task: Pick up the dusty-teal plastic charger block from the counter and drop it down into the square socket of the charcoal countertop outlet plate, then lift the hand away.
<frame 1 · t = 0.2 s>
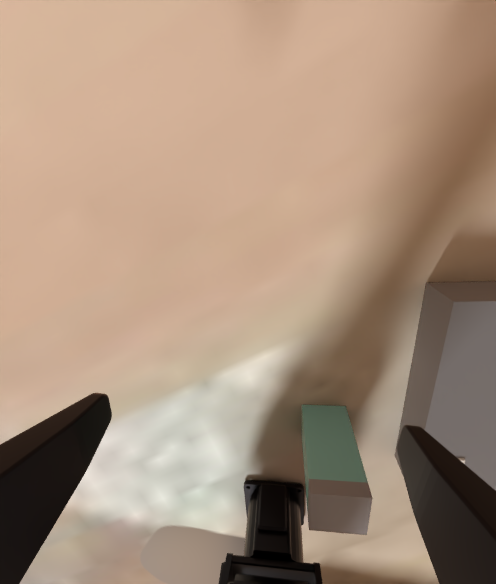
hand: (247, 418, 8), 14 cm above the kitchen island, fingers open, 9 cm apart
charger: (322, 421, 26), on the kitchen island
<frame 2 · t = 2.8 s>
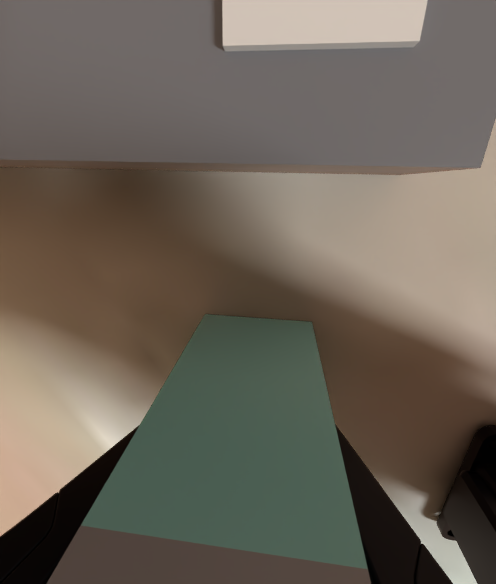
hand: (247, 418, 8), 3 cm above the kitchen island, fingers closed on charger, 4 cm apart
charger: (255, 362, 11), on the kitchen island, touching gripper
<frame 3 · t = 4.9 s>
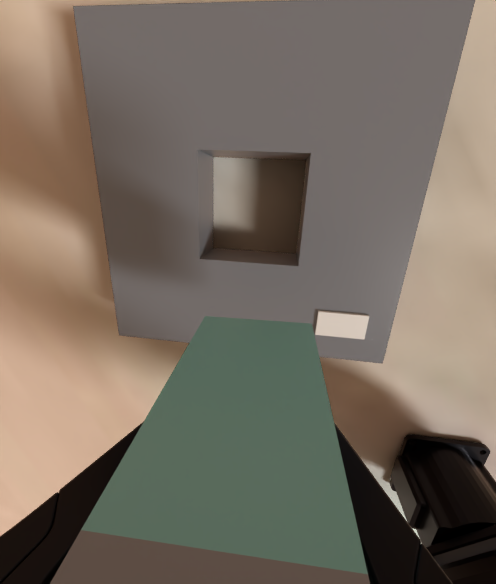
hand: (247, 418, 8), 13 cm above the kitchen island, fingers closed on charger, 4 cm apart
charger: (255, 364, 11), point 10 cm above the kitchen island, touching gripper
outlet plate: (256, 207, 19), on the kitchen island
when the fingers open (4 cm above the kitchen island, at t = 7.1 s): charger drops 2 cm, resting in outlet plate.
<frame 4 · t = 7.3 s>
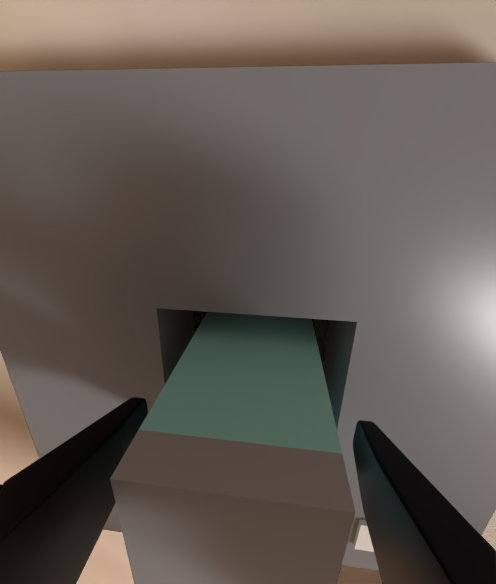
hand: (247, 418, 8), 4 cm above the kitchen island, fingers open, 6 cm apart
charger: (259, 340, 13), resting in outlet plate
outlet plate: (258, 340, 13), on the kitchen island
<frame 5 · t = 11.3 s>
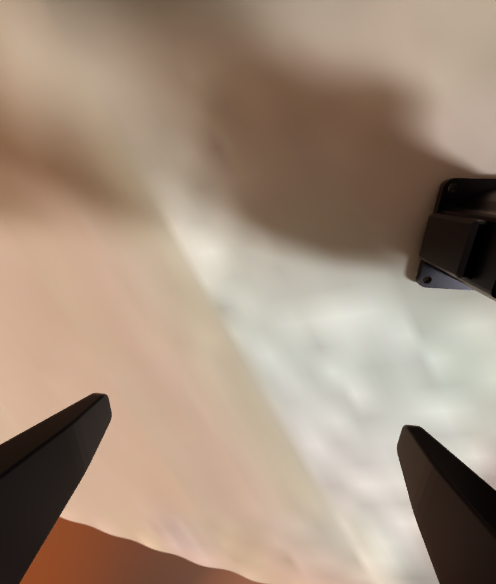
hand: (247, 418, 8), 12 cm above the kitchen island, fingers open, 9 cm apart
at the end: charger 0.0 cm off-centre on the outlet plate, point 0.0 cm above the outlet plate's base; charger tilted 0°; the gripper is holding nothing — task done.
